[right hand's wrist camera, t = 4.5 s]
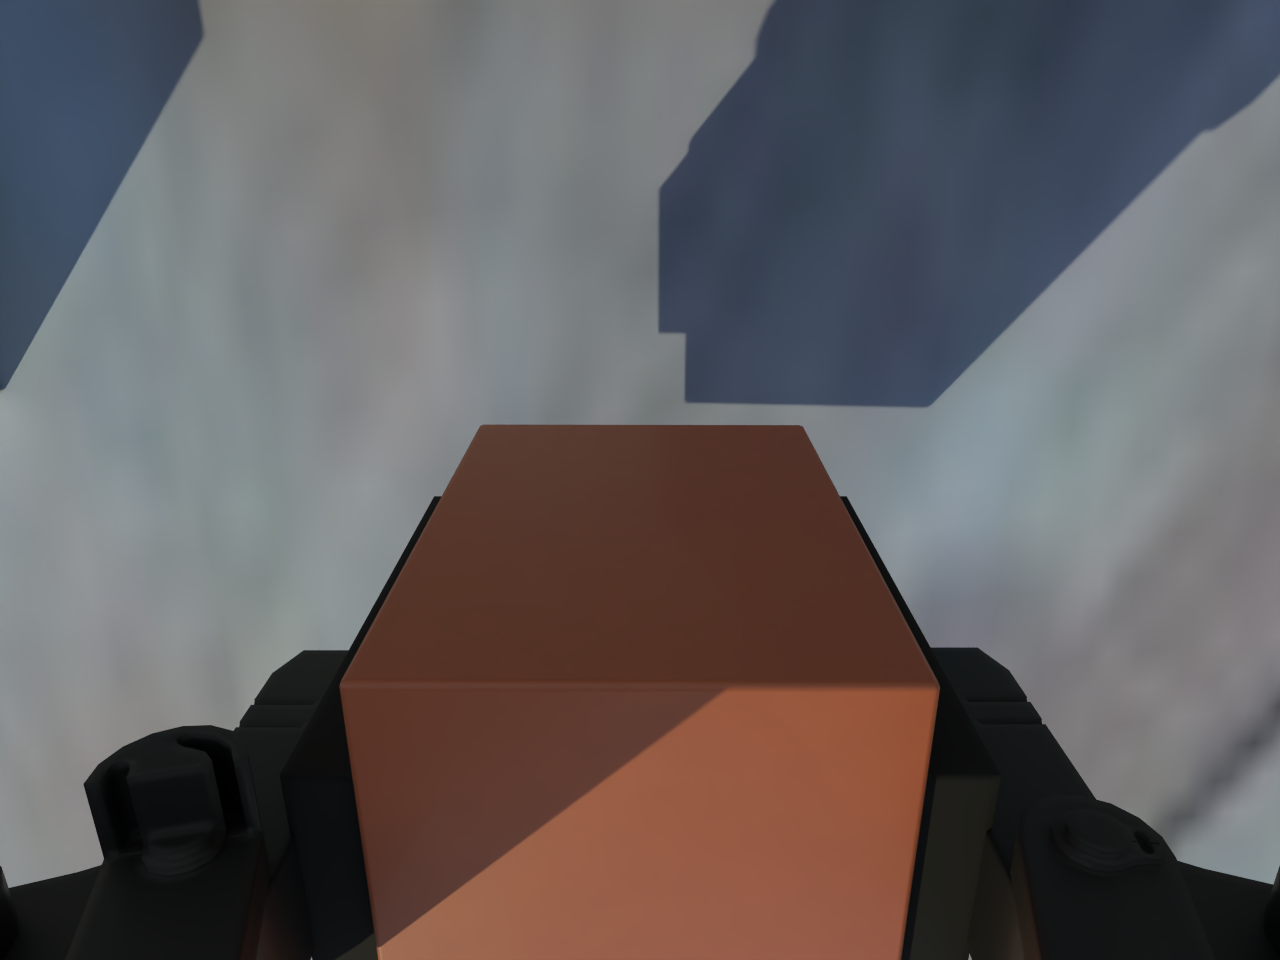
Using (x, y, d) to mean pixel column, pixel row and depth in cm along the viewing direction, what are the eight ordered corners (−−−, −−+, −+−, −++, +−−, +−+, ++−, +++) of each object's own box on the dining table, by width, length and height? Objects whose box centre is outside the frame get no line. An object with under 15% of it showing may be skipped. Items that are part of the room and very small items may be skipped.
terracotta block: (497, 696, 16) (394, 1098, 9) (479, 422, 14) (336, 682, 7) (784, 698, 16) (883, 1100, 9) (803, 423, 14) (943, 685, 7)
